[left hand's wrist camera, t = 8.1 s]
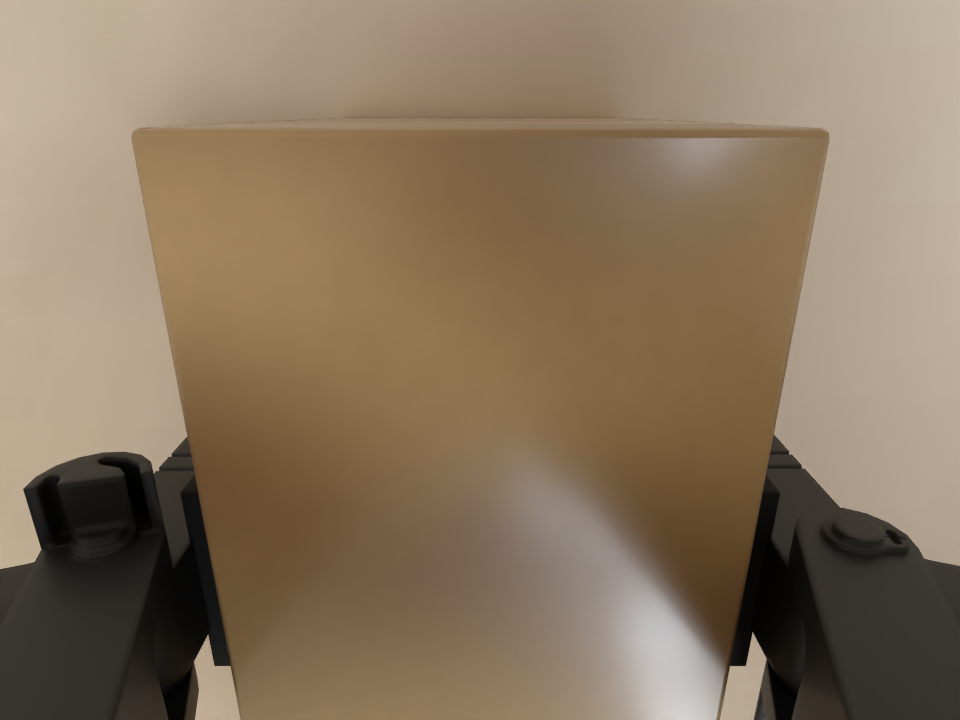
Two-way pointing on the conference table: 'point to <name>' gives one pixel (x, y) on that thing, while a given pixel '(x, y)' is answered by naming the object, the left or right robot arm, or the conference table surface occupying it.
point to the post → (480, 401)
